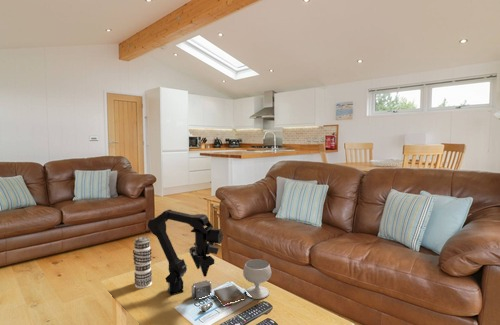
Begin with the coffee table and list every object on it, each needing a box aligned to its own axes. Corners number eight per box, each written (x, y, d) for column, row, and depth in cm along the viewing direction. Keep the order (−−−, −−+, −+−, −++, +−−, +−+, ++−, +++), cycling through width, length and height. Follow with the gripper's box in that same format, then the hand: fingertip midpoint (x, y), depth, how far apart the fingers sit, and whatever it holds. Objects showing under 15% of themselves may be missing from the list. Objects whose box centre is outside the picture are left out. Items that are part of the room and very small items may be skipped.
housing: (193, 301, 137) (193, 289, 137) (190, 296, 142) (190, 284, 141) (213, 295, 142) (213, 283, 142) (209, 290, 147) (209, 279, 146)
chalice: (252, 283, 154) (252, 256, 153) (276, 290, 147) (276, 262, 146) (237, 295, 142) (237, 266, 141) (262, 304, 135) (262, 273, 134)
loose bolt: (205, 312, 128) (205, 307, 128) (200, 310, 130) (200, 305, 129) (213, 306, 133) (213, 300, 133) (209, 304, 135) (209, 299, 134)
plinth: (223, 306, 133) (223, 301, 133) (214, 295, 142) (214, 290, 142) (244, 300, 138) (244, 294, 138) (234, 289, 148) (234, 284, 148)
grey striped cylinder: (132, 289, 148) (130, 241, 146) (135, 280, 157) (134, 235, 155) (151, 287, 150) (149, 240, 148) (153, 279, 159) (152, 234, 157)
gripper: (224, 244, 136) (224, 276, 137) (209, 233, 152) (209, 261, 153) (202, 249, 130) (202, 282, 132) (188, 236, 146) (189, 266, 148)
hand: (201, 272), depth 141 cm, fingers open, 9 cm apart
